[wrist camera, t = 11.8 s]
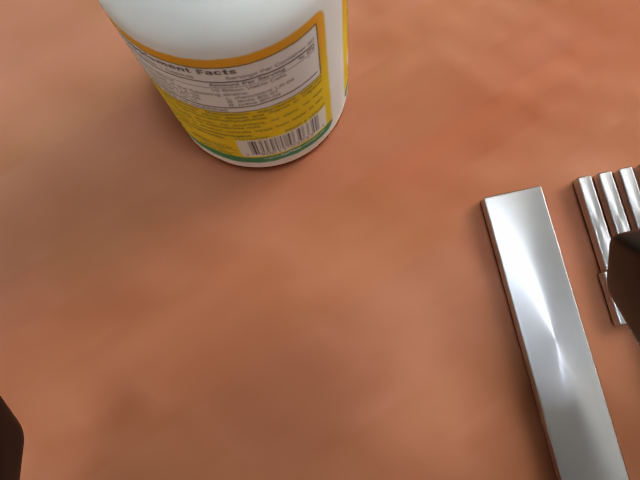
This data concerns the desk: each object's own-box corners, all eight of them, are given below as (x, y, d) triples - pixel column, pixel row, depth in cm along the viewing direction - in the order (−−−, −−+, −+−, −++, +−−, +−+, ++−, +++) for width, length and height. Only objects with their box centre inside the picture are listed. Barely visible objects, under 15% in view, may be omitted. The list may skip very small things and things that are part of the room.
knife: (712, 755, 14) (742, 786, 13) (631, 773, 14) (654, 805, 13) (542, 188, 18) (554, 176, 16) (475, 202, 18) (483, 191, 16)
